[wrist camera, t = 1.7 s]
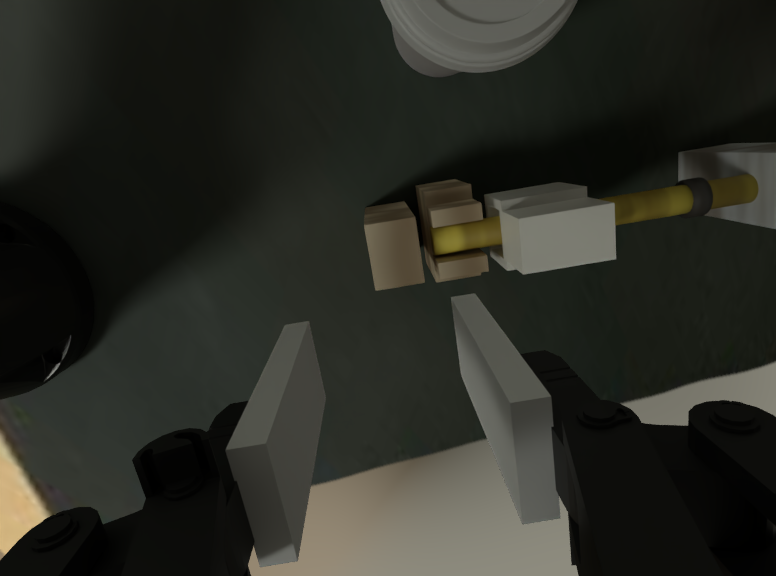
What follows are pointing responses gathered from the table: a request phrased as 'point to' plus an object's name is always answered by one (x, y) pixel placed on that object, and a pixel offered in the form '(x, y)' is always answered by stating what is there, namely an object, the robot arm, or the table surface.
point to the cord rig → (687, 199)
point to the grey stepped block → (551, 227)
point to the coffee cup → (472, 32)
